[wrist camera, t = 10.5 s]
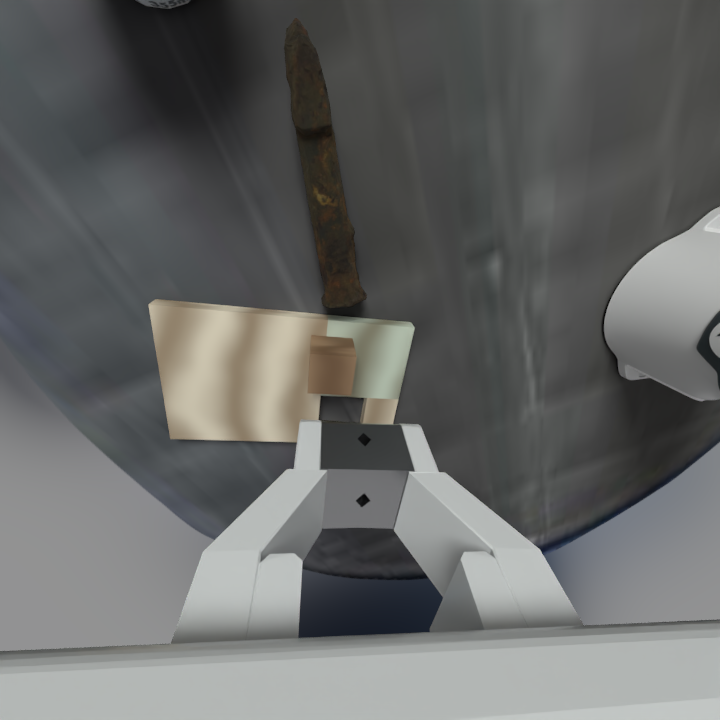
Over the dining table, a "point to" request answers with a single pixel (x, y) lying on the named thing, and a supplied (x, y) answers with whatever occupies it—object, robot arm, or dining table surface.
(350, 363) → the walnut cube
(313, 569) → the dining table surface
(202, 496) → the dining table surface
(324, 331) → the birch board
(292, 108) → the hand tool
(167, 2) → the beverage can
